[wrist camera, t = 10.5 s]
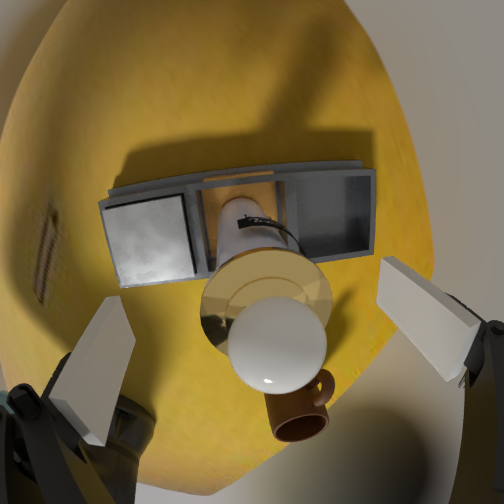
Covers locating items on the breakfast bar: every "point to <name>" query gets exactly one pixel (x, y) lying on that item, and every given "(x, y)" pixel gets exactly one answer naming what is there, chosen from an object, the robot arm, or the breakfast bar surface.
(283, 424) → the mug
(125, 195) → the rack
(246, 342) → the perfume bottle
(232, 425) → the breakfast bar surface
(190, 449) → the breakfast bar surface
